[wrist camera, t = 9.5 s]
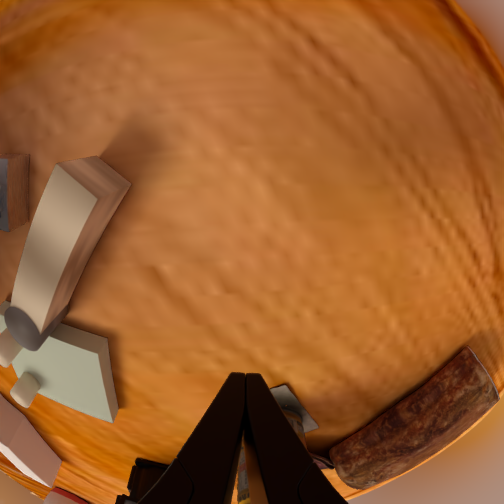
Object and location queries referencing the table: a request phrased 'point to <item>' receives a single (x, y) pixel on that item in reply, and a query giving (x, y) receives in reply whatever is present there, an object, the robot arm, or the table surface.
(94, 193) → the leg
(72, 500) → the citrus juicer
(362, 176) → the table surface
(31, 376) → the stool seat
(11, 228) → the stop block
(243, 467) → the condiment
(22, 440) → the milk carton
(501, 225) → the table surface
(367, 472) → the cured meat
